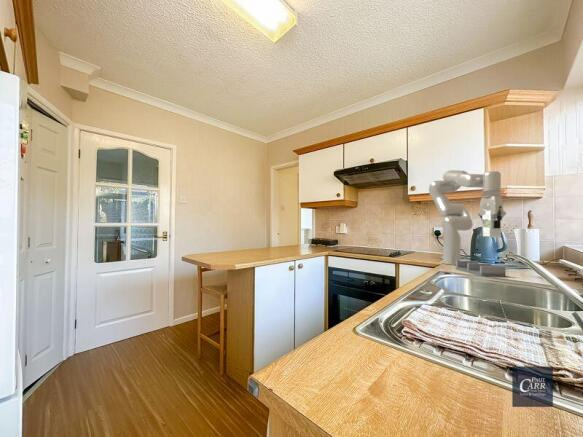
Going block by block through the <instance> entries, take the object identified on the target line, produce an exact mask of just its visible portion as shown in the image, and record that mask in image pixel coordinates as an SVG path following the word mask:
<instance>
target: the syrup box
mask: <svg viewBox="0 0 583 437" xmlns="http://www.w3.org/2000/svg"><path fill="white" fill-rule="evenodd" d="M499 213H500V212H499ZM497 215H498V214H497ZM497 217H498V216H497ZM481 221H482V223H481V224H482V237H484V238H499V239H500V238H502V226H501V225H502V224H501V222H502V220H501V221H500V228H494V221H495V219H494V215H491V210H490V211H486V213H485V215H482V219H481Z"/></svg>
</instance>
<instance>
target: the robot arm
mask: <svg viewBox="0 0 583 437" xmlns="http://www.w3.org/2000/svg"><path fill="white" fill-rule="evenodd" d="M501 176H502V175H501V172H500V171H496V170H493V171H492V170H491V171H486V172H484V173H483V174H482V173H481V174H480V173H478V174H477V173H468V172H467V171H465V170H456V169H455V170H454V169H452V170H447V171H445V172H444V173H443V175H442V180H434V181H432V182H431V183H429V187H428V193H429V196H430V198H431V199H432V201H433V202H434V204H435V207H436V209H437V210H438V213H439V214H440V216H441V217H443V218H442V220H441V226H442V232H443V233H442V234H443V240H442V241H443V243H442V244H443V245H442V246H443V247H442V250H443V252H442V256H440V259H442V260H440V263H441V264H444V265H453V266H456V261H461V244H462V243H461V235H460V233H459V231H469V230H471V229H472V227H473V220H472V218H471V216H470V215H469V212H468V211H467V208H466V207H465V205H463V204H461V203H453V202H451V201H450V199H449V198H448V196H447V195H445V194H444V193H449V194H451V193H455V192H457V191H458V190H459V189H460V188H461V187H465V188H481V189H482V197H481V198H480V203H479V210H478V211H479V212H478V214H477V215H478V216H479V218H480V219H481V220H482V215H485V213H486V211H490V210H491V215H494V219H495V221H494V228H500V221H501V222H502V221H503V218H504V217H505V216H506V215H507V213H506V211H505V210H504V205H503V204H504V203H503V198H502V194H501V191H502V190H501V185H502V184H501V182H502V181H501V180H502V177H501ZM499 212H500V213H499ZM497 214H498V215H497ZM497 216H498V217H497Z"/></svg>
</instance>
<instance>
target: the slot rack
mask: <svg viewBox="0 0 583 437" xmlns="http://www.w3.org/2000/svg"><path fill="white" fill-rule="evenodd" d="M455 269H456V270H457V271H460V270H461V271H460V272H464V273H465V272H466V273H469V274H472V275H475V276H480V277H506V272H507V271H506V266H505V265H502V266H501V265H499V266H498V265H493V266H492V263H482V262H481V263H479V260H460V261H456V265H455Z"/></svg>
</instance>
